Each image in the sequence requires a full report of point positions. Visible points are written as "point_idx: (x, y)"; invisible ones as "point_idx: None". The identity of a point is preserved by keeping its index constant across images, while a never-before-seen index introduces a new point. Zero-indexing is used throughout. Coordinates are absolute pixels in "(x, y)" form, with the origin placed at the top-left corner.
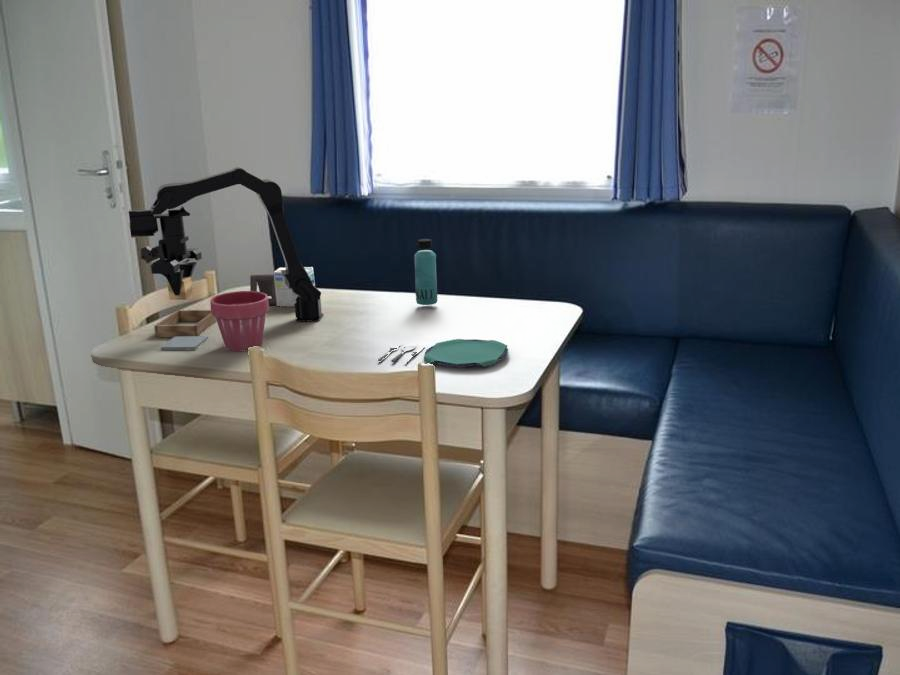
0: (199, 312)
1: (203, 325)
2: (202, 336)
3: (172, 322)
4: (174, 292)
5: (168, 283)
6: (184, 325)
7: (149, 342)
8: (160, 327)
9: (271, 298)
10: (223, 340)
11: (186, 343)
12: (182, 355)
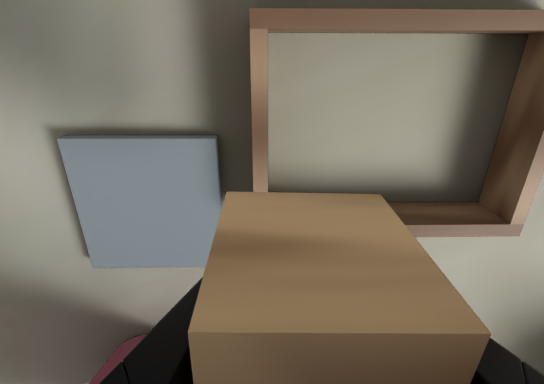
0: (526, 152)
1: None
2: None
3: (441, 32)
4: (194, 292)
5: (199, 312)
6: (258, 182)
7: (159, 22)
8: (250, 49)
9: None
10: (115, 359)
11: (125, 223)
12: (31, 239)
